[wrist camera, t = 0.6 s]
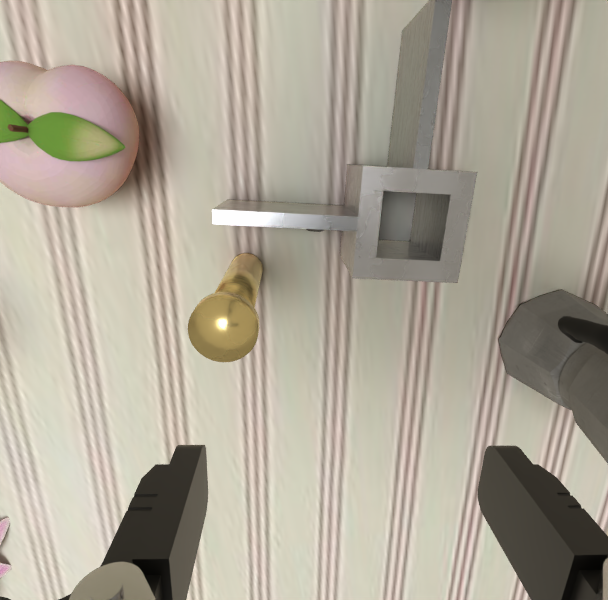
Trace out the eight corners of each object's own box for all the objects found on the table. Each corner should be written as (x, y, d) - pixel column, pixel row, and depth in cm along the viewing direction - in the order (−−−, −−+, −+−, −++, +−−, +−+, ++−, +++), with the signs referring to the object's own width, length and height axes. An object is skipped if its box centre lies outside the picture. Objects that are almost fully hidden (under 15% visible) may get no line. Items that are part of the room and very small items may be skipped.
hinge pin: (224, 245, 33) (186, 296, 21) (269, 248, 33) (258, 299, 21) (224, 289, 34) (189, 360, 22) (268, 290, 35) (257, 363, 22)
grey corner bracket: (227, 17, 28) (208, -27, 22) (457, 35, 29) (508, -2, 22) (227, 249, 33) (213, 272, 27) (424, 259, 34) (457, 282, 28)
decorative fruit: (38, 196, 32) (-69, 211, 22) (21, 75, 29) (-108, 34, 19) (164, 203, 32) (112, 221, 23) (159, 85, 29) (98, 49, 20)
